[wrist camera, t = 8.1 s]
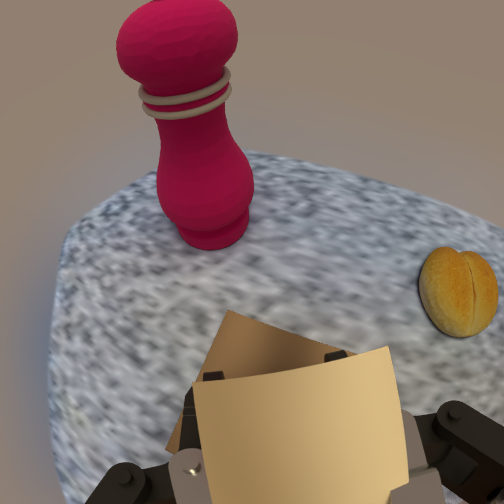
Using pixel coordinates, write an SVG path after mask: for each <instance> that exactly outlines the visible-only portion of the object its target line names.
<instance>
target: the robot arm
mask: <svg viewBox="0 0 504 504" xmlns="http://www.w3.org/2000/svg"><path fill="white" fill-rule="evenodd" d="M347 357H349V356H348V355H347V353H346V352H345V351H344V350H339V351H335V352H331V353H326V354H325V356H324V363H326V362H331V361H335V360H339V359H343V358H347ZM215 380H225V377H224V373H223V371H214V372H204V373H203V381H202V382H204V381H215ZM401 413H402V420H403V427H404V434H405V442H406V451H407V461H408V474H409V483H407V484H404V485H402V486H400V487H398V488H395V489H393V490H391V492H390V498H389V504H446V503H445V498H444V493H443V489H442V485H444V486H445V487H446V488H448V489H449V490H450V491H452V492H453V493H455V494H456V495H457V496H459V497H460V498H462V499H463V500H464V501H466V502H467V503H469V504H504V427H503V426H502V425H500V424H498V423H497V422H495V421H493V420H492V419H490V418H488V417H487V416H485V415H483V414H481V413H480V412H478V411H477V410H475V409H473V408H472V407H470V406H468V405H467V404H465V403H463V402H461V401H454V400H453V401H448V402H446V403H444V404H442V405H441V406H440V408H439V409H438V411H437V413H433V414H427V415H420V416H413V415H412V414H410V413H409V412H407V411H405V410H402V409H401ZM85 504H213V503H212V499H211V494H210V490H209V485H208V480H207V475H206V470H205V465H204V459H203V454H202V448H201V442H200V436H199V429H198V423H197V416H196V409H195V401H194V394H193V386H192V387H191V388H190V390H189V391H188V393H187V394H186V395H185V402H184V409H183V417H182V425H181V434H180V442H179V449H178V452H177V453H176V454H175V455H173V456H172V458H171V459H170V461H169V462H168V463H166V464H163V465H160V466H156V467H151V468H147V469H141V468H140V467H139V466H137V465H135V464H133V463H129V462H123V463H118V464H116V465H114V466H112V467H111V468H110V469H109V470H108V472H107V473H106V474H105V476H104V477H103V479H102V480H101V481H100V483H99V484H98V486H97V487H96V488H95V490H94V491H93V493H92V494H91V495H90V497H89V498H88V500H87V501H86V502H85Z"/></svg>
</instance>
